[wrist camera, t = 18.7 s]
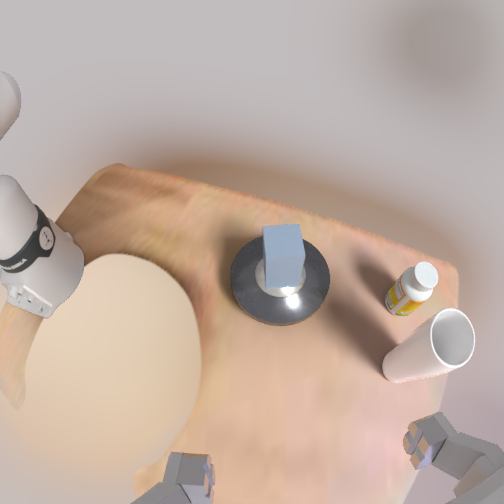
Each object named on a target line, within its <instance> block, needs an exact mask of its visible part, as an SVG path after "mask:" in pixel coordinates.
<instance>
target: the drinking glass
mask: <svg viewBox="0 0 504 504" xmlns="http://www.w3.org/2000/svg"><path fill="white" fill-rule="evenodd" d="M474 346H475V334H474V330H473V327H472V324H471V322H470V320H469V319H468V318H467V316H466V315H465V314H464V313H462V312H461V311H459V310H457V309H454V308H445V309H443V310H441V311H439V312H438V313H436V314H435V315H433V316H432V317H430V318H429V319H427V320H426V321H425V322H423V323H422V324H421V325H420V326H419V327H417V328H416V329H415V330H414V331H413V332H412V333H411V334H410V335H409V336H408V337H407V338H406V339H404V340H403V341H402V342H401V343H400V344H399V345H398V346H396V347H395V348H394V349H392V350H391V351H389V352H388V353H387V354H386V356H385V357H384V360H383V364H382V369H383V373H384V375H385V377H386V378H387V379H388V380H389V381H391V382H393V383H402V382H405V381H411V380H417V379H423V378H429V377H434V376H438V375H442V374H445V373H448V372H450V371H452V370H455V369H457V368H459V367H461V366H463V365H464V364H465V363H466V362H467V361H468V360H469V359H470V357H471V356H472V353H473V350H474Z"/></svg>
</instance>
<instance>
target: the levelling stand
mask: <svg viewBox="0 0 504 504" xmlns="http://www.w3.org/2000/svg"><path fill="white" fill-rule="evenodd" d="M302 240H303V245H304V250H305V260H304V264H303V268H302V273H301V277H300V281H299V285H298V287H287V288H275V289H266V287H265V276H264V265H263V236H262V237H260V238H257V239H255V240H253V241H251V242H250V243H248V244H247V245H246V246H245V247H243V248H242V250H241V251H240V252H239V253H238V254H237V256H236V258H235V260H234V261H233V264H232V267H231V273H230V281H231V287H232V291H233V295H234V297H235V299H236V301H237V303H238V305H239V306H240V307H241V308H242V310H243V311H244V312H245V313H246V314H248V315H249V316H250V317H252V318H253V319H255V320H257V321H259V322H262V323H265V324H268V325H274V326H287V325H293V324H296V323H299V322H301V321H304V320H306V319H307V318H309V317H310V316H312V315H313V314H314V313H315V312H316V311H317V310H318V309H319V308H320V306H321V305H322V303H323V301H324V299H325V297H326V295H327V292H328V289H329V284H330V274H329V269H328V265H327V263H326V261H325V259H324V257H323V256H322V254H321V253H320V252H319V251H318V250H317V249H316V248H315V247H314V246H313V245H312V244H310V243H309V242H307V241H305V240H304V239H302Z"/></svg>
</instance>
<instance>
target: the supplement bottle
mask: <svg viewBox="0 0 504 504" xmlns="http://www.w3.org/2000/svg"><path fill="white" fill-rule="evenodd" d="M437 282H438V274H437V271H436V269H435V268H434V266H433V265H431V264H430V263H428V262H424V261H423V262H419V263H418V264H417V265H416V266H415V267H410V268H408V269H407V270H406V271H405V272H404V273H403V274H402V275H401V276H400V278H399V279H398V280H397V281H396V282H395V283H394V285H393V286H392V287H391V288H390V289H389V291H388V292H387V294H386V297H385V303H386V306H387V308H388V310H389V311H390V312H391V313H392V314H393V315H395V316H398V317H405V316H408V315H409V314H410V313H412V312H413V311H414V310H415V309H416V308H417V307H419V306H420V305H421V304H422V303H423V302H425V301H426V300H427V299H428V298H429V297H430V295H431V294H432V291H433V287H434V286H435V285H436V284H437Z"/></svg>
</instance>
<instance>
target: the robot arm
mask: <svg viewBox="0 0 504 504" xmlns="http://www.w3.org/2000/svg"><path fill="white" fill-rule="evenodd" d="M20 108H21V94H20V90H19V87H18V84H17V83H16V81H15V80H14V79H13V77H11V76H10V75H9V74H7V73H5V72H2V71H0V140H1V139H2V138H3V136H4V135H5V133H6V132H7V131H8V130H9V129H10V127H11V126H12V124H13V123H14V122H15V120H16V119H17V118H18V117H19V113H20ZM0 266H1V271H0V281H1V284H2V285H3V286H4V287H5V288H6V289H7V301H8V302H9V303H10V304H11V305H13V306H15V307H18V308H20V309H23V310H25V311H28V312H30V313H33V314H35V315H38V316H41V317H43V318H49V317H50V316H51V315H52V314H53V312H54V311H55V309H56V308H57V307H58V306H59V305H60V304H61V303H63V302H64V301H65V300H66V299H67V298H69V297H70V295H71V294H72V293H73V292H74V291H75V289H76V287H77V286H78V284H79V282H80V280H81V277H82V274H83V270H84V255H83V252H82V250H81V249H80V247H79V246H77V245H76V244H75V243H74V242H73V238H72V236H71V234H70V233H68V232H65V233H64V232H63V231H62V230H61V229H60V228H59V227H58V226H57V225H56V224H55V223H54V222H53V221H52V220H51V219H50V218H47V217H46V216H45V214H44V212H43V211H42V210H41V209H39V207H38V206H37V205H34V204H33V203H32V202H31V200H30V199H29V198H28V196H27V195H26V194H25V192H24V191H23V189H22V188H21V187H20V185H19V184H18V182H17V181H16V180H15V179H14V178H12V177H11V176H8V175H0ZM408 430H409V431H408V432H407V433H406V434H405V436H404V439H403V446H404V449H405V451H406V453H407V454H410V455H411V458H410V461H411V463H412V464H413V466H414V468H415V470H417V469H419V468H422V467H424V466H427V465H429V464H432V465H433V466H435V467H437V468H439V469H440V470H442V471H444V472H446V473H447V474H449V475H451V476H453V477H455V478H456V479H458V480H460V481H459V482H458V484H456V486H455V487H454V489H453V491H454V493H455V495H456V498H454V499H453V500H451V501H449V502H447V503H446V504H504V452H503V451H502V450H501V448H500V447H499V446H498V445H496V444H493V443H490V442H487V441H484V440H481V439H478V438H475V437H472V436H470V435H467V434H464V433H461V432H460V433H457V432H456V430H455V429H454V427H453V426H452V425H451V424H450V422H449V421H448V420H447V418H446V417H445V416H444V415H443V414H442V413H441V412H437V413H435V414H432V415H430V416H427V417H424V418H422V419H419V420H416V421H414V422H411V423H410V424H409V426H408ZM214 484H215V469H214V465H213V464H211V457H210V454H191V453H179V452H171V453H170V455H169V458H168V462H167V466H166V470H165V474H164V478H163V482H159V483H157V484H156V485H155V486H154V487H152V488H151V489H150V490H148V491H147V492H146V493H144V494H143V495H142V496H141V497H139V498H138V499H136V500H135V501H134V502H132V503H131V504H213V499H214V491H213V489H212V486H213V485H214Z"/></svg>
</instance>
